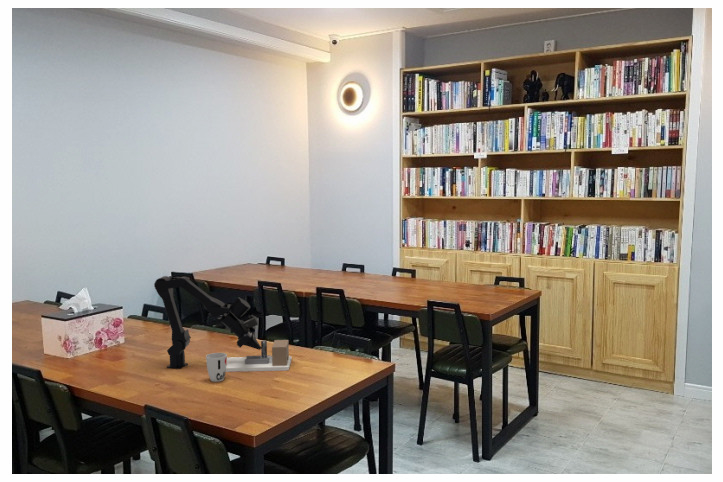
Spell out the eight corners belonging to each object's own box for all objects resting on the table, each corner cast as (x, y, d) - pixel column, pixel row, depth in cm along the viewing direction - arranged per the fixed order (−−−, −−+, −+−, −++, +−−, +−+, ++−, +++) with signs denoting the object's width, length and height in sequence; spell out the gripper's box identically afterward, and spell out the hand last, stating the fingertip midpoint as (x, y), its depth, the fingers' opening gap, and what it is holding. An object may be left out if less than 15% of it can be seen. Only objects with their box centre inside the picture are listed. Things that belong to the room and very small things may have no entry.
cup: (217, 384, 238) (217, 359, 237) (202, 381, 242) (201, 356, 241) (231, 378, 245) (231, 354, 244) (216, 375, 249) (215, 351, 248)
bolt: (260, 362, 261) (259, 342, 260) (261, 360, 264) (260, 340, 263) (283, 362, 262) (283, 341, 261) (284, 360, 265) (284, 339, 264)
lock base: (216, 371, 254) (216, 349, 253) (223, 360, 270) (223, 339, 269) (288, 370, 255) (288, 348, 254) (291, 359, 271) (291, 338, 270)
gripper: (243, 315, 251) (271, 341, 253) (250, 306, 270) (275, 330, 271) (225, 334, 251) (252, 360, 253) (232, 324, 270) (258, 348, 272)
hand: (260, 348), depth 262 cm, fingers closed, pressing on bolt
